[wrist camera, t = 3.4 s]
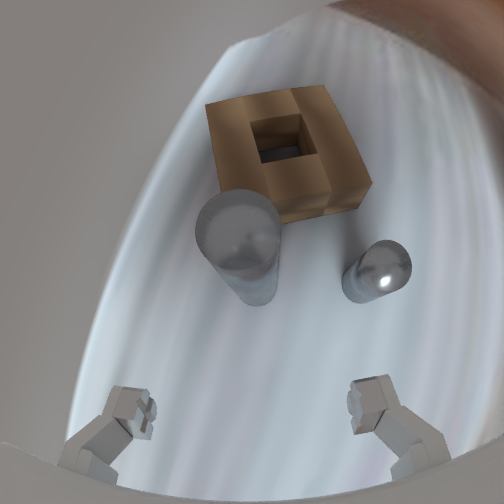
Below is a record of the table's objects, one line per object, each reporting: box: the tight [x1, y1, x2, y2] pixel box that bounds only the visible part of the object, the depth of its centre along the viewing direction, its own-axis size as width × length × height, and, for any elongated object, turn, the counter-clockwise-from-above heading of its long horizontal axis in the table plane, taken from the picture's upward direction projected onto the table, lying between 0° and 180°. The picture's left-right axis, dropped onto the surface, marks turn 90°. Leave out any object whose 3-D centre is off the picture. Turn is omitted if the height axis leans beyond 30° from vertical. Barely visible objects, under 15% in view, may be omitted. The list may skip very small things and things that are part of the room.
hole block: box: [205, 85, 372, 225], centre depth 26 cm, size 12×12×5 cm
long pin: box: [195, 189, 281, 306], centre depth 18 cm, size 4×4×14 cm
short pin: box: [342, 240, 412, 304], centre depth 21 cm, size 4×4×7 cm
